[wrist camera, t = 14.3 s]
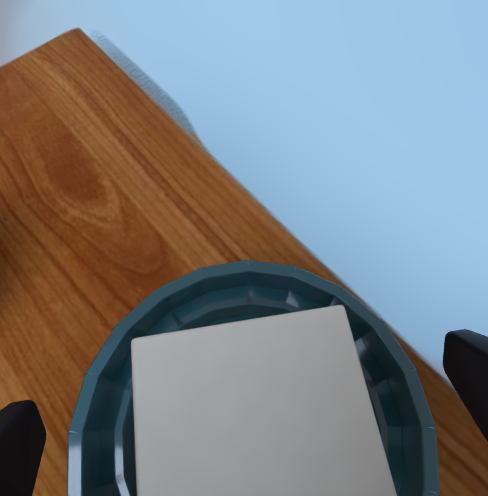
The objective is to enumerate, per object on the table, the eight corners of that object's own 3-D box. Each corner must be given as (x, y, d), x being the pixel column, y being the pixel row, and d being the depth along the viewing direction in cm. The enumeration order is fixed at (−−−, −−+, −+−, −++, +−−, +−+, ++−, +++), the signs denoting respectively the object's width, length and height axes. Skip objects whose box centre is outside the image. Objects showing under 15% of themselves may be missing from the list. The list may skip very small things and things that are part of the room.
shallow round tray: (453, 425, 19) (510, 426, 15) (256, 714, 15) (260, 825, 11) (247, 244, 23) (247, 206, 19) (48, 431, 19) (-7, 433, 15)
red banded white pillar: (307, 474, 18) (419, 569, 6) (209, 493, 17) (141, 626, 6) (287, 372, 20) (345, 302, 8) (197, 387, 19) (129, 337, 8)
